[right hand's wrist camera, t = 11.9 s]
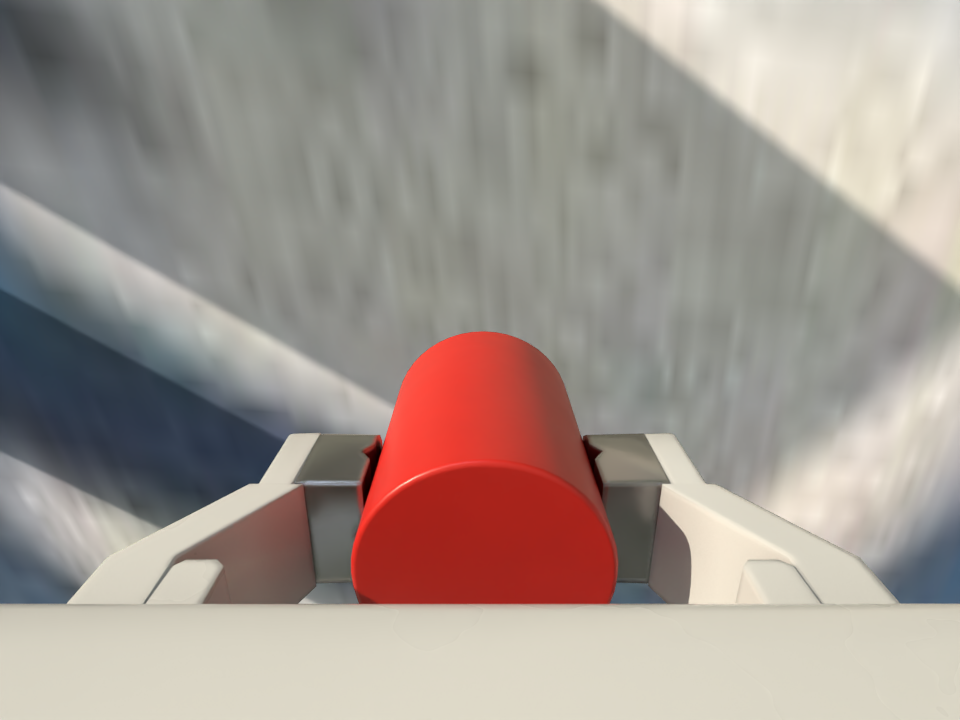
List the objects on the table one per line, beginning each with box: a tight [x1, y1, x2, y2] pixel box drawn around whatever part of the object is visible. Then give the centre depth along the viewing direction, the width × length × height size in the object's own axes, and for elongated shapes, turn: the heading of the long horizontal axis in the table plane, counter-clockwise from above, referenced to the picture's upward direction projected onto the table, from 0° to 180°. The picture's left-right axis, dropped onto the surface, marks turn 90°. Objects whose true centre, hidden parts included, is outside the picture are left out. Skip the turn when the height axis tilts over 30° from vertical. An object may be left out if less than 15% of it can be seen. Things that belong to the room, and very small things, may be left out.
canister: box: [351, 332, 618, 604], centre depth 10 cm, size 4×4×5 cm
